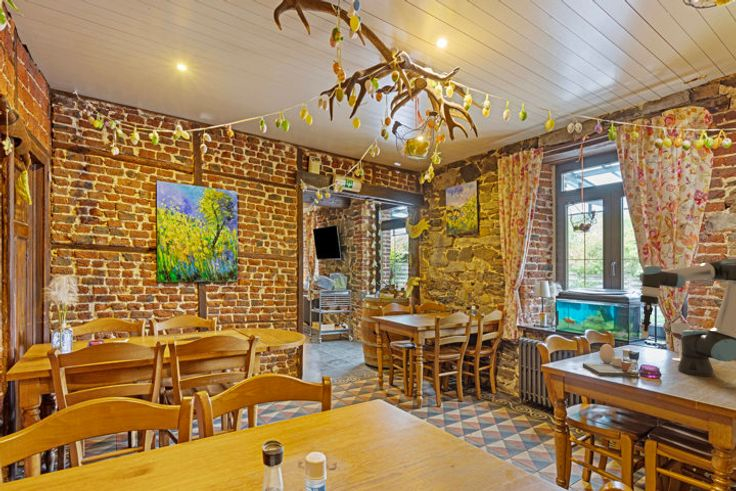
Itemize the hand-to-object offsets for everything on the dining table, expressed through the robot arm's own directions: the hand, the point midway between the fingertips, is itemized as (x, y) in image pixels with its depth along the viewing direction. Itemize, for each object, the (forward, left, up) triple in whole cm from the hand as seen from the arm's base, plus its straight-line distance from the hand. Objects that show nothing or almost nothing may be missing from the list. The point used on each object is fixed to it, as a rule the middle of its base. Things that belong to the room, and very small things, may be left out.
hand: (644, 336), depth 203 cm
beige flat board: (+10, -14, -22) cm, 28 cm away
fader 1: (+3, -19, -20) cm, 28 cm away
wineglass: (-49, -44, -22) cm, 70 cm away
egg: (+2, -31, -22) cm, 39 cm away
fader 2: (+3, -10, -20) cm, 22 cm away
